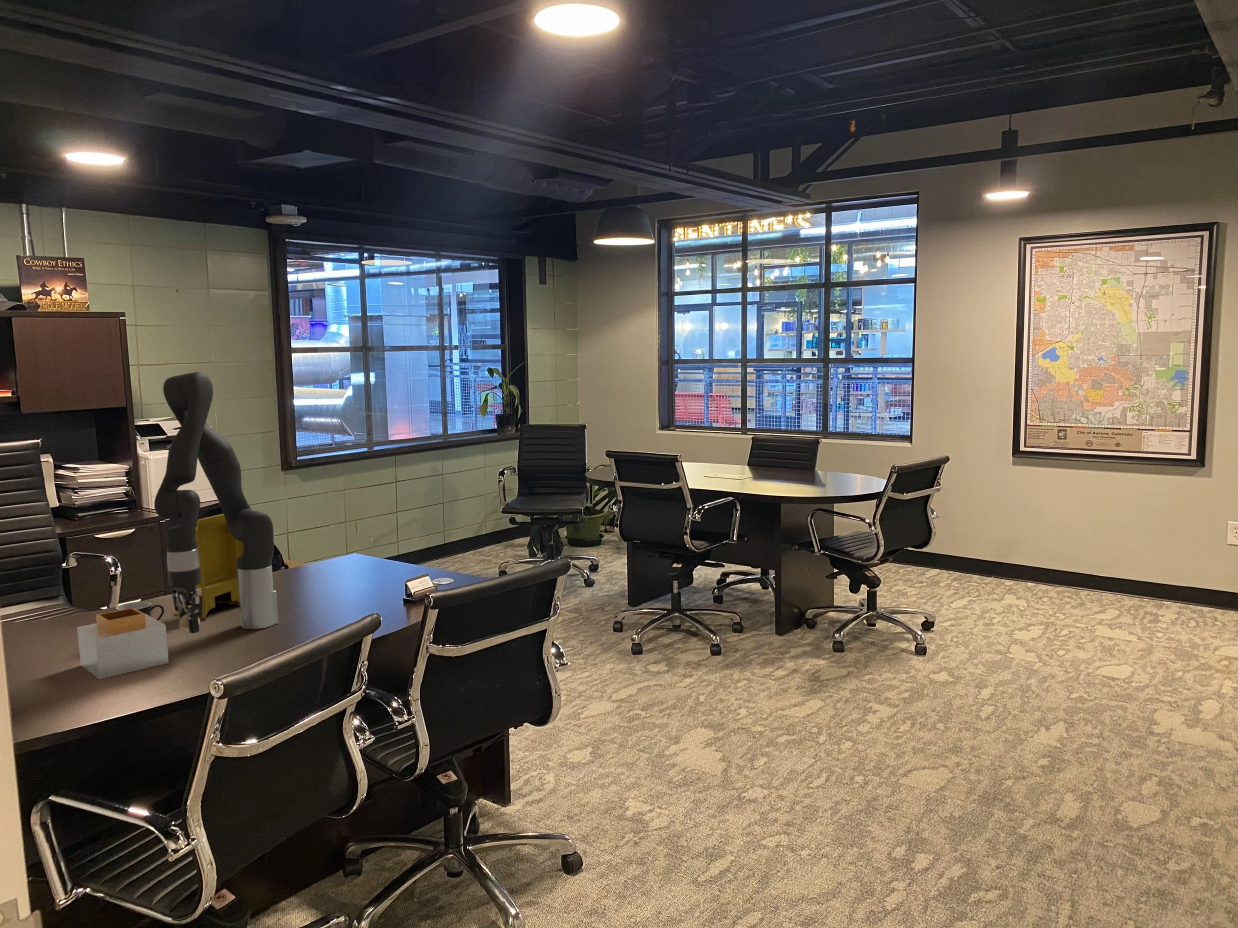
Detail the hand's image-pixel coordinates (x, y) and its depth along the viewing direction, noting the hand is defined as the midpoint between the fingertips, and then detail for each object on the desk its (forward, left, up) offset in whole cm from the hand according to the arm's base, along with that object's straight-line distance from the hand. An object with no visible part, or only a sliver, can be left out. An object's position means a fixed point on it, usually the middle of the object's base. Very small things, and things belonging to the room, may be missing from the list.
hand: (190, 630), depth 240 cm
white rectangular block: (+15, -5, -6) cm, 17 cm away
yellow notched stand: (-21, -40, -7) cm, 45 cm away
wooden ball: (0, 0, -1) cm, 1 cm away
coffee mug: (+5, -23, -7) cm, 24 cm away
